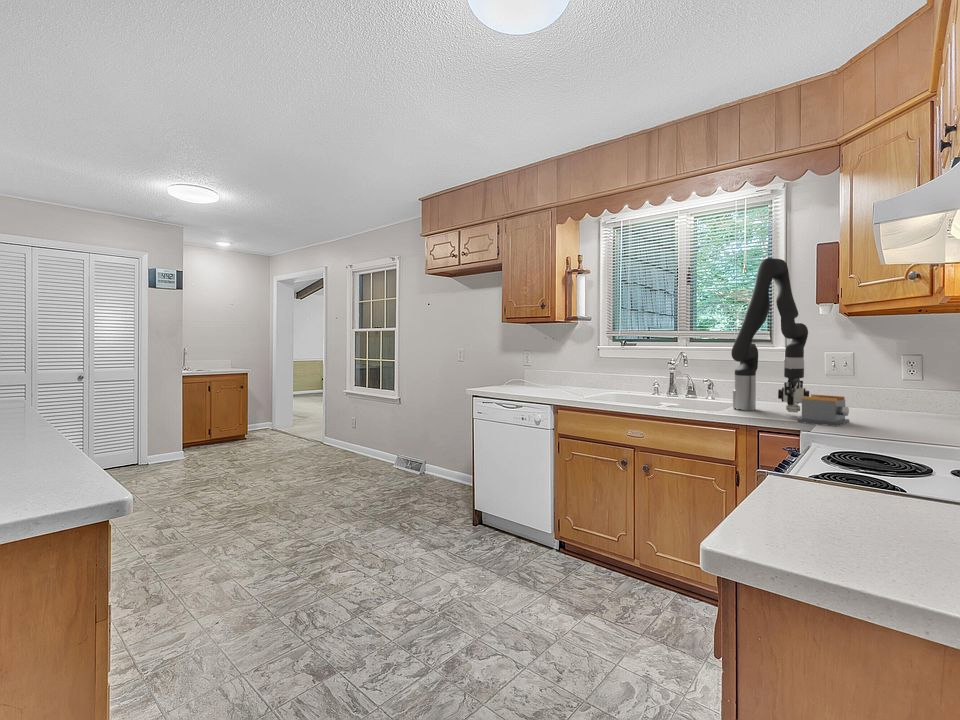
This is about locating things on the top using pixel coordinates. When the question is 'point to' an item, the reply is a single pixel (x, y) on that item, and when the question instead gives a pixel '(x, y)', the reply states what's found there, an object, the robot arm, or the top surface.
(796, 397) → the pneumatic valve
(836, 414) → the orange-striped grey block
